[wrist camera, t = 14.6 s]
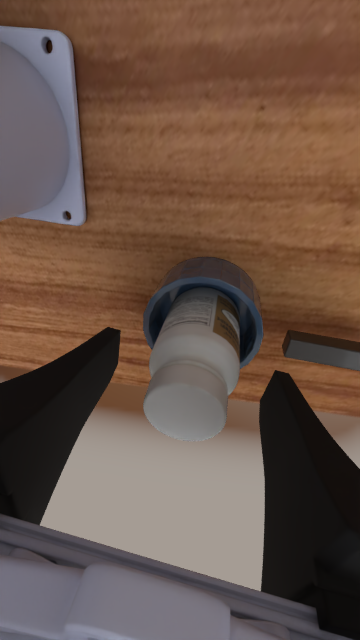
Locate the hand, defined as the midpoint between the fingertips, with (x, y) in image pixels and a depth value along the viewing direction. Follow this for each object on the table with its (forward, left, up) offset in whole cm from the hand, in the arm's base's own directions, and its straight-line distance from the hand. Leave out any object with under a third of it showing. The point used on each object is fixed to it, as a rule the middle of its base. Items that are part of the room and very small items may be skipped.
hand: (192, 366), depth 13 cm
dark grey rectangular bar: (+7, 0, -4) cm, 8 cm away
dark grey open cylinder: (0, 0, -6) cm, 6 cm away
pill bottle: (0, -1, -6) cm, 6 cm away
